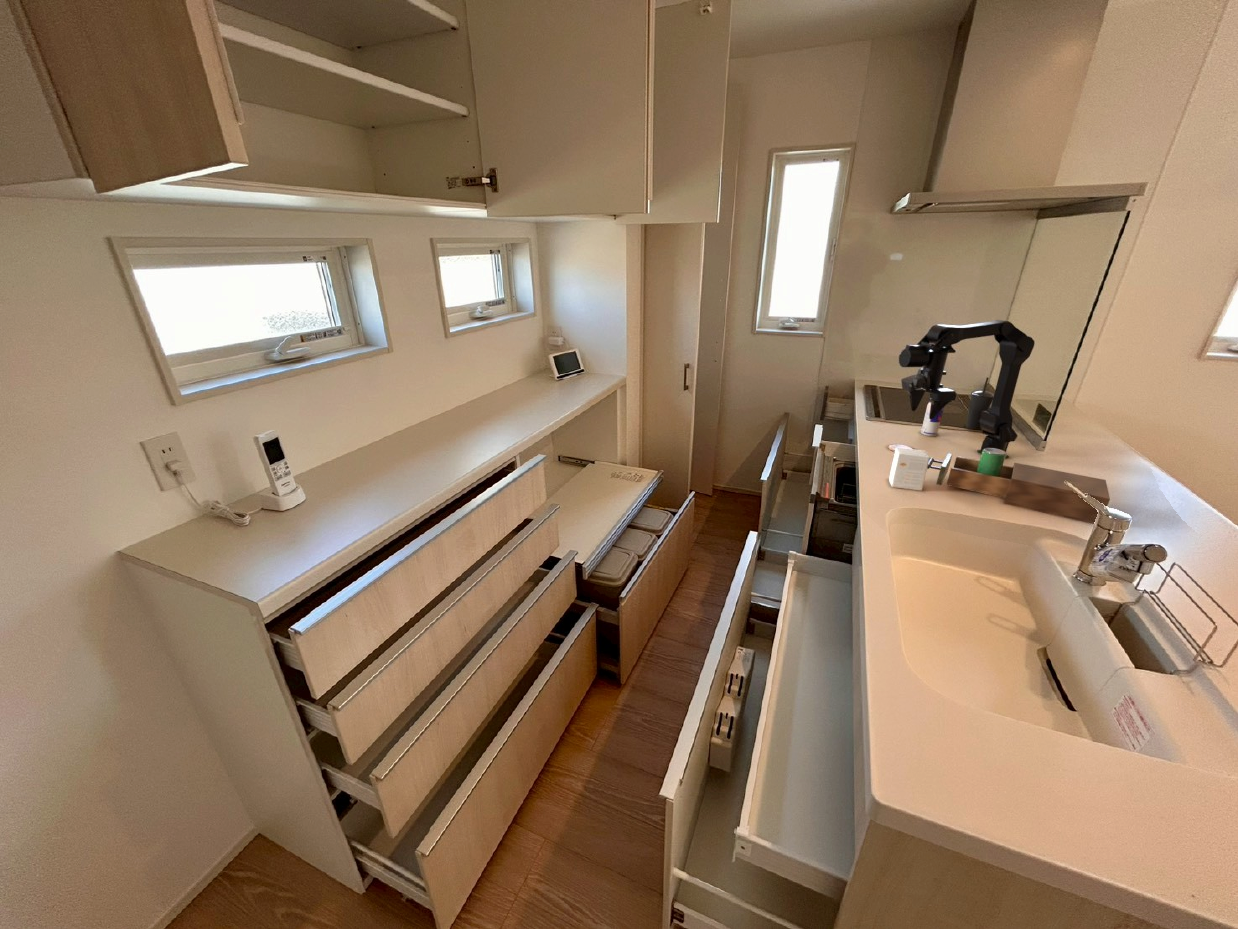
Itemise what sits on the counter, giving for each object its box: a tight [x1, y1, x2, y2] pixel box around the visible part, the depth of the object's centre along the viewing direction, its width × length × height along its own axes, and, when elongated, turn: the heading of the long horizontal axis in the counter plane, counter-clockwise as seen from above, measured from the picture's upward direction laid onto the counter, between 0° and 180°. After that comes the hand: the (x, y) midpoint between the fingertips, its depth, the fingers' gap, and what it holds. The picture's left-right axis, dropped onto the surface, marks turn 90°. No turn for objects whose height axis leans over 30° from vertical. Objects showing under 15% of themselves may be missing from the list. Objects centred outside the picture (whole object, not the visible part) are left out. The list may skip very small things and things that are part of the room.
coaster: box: [888, 443, 913, 452], centre depth 173 cm, size 8×8×1 cm
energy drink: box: [920, 401, 945, 437], centre depth 186 cm, size 5×5×12 cm
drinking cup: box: [965, 377, 994, 431], centre depth 191 cm, size 8×8×20 cm
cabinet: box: [1003, 462, 1111, 525], centre depth 133 cm, size 19×14×7 cm
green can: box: [976, 448, 1007, 477], centre depth 140 cm, size 5×5×10 cm
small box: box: [888, 448, 931, 491], centre depth 144 cm, size 8×6×10 cm
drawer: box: [927, 452, 1013, 499], centre depth 144 cm, size 23×13×6 cm, turn 51°
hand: (921, 414), depth 161 cm, fingers open, 9 cm apart
